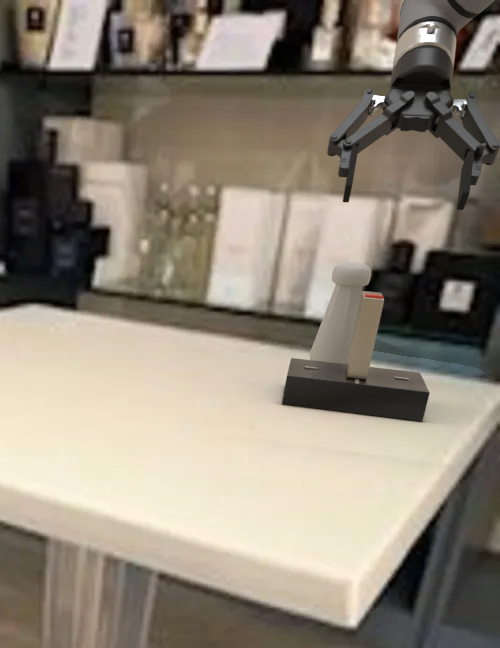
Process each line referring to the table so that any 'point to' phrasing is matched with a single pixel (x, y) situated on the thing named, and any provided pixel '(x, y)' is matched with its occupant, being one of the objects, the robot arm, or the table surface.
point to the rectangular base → (356, 390)
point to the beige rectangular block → (364, 335)
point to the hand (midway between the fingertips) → (404, 198)
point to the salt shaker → (340, 313)
